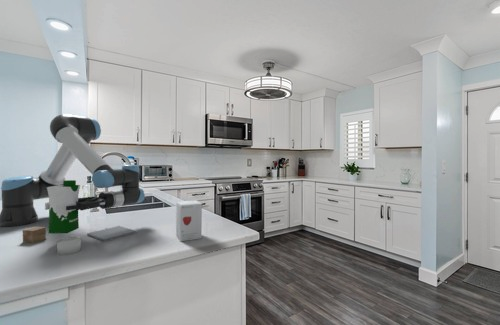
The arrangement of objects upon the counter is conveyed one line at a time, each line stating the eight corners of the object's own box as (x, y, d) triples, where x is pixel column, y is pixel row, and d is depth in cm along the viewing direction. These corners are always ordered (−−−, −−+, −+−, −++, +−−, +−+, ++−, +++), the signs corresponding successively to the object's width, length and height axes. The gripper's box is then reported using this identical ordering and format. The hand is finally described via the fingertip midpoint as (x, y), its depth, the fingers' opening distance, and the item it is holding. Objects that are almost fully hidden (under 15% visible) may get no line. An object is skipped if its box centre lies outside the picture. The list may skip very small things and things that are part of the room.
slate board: (87, 235, 107) (87, 233, 107) (119, 227, 119) (119, 225, 119) (103, 241, 99) (103, 239, 99) (136, 232, 111) (136, 230, 111)
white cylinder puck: (53, 252, 88) (53, 241, 88) (75, 246, 94) (75, 236, 94) (62, 256, 84) (61, 245, 84) (84, 250, 90) (84, 239, 90)
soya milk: (68, 234, 94) (68, 182, 94) (43, 234, 94) (43, 181, 93) (82, 227, 103) (82, 179, 102) (59, 227, 102) (59, 179, 102)
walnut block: (22, 242, 98) (22, 229, 98) (36, 238, 103) (36, 226, 103) (32, 243, 97) (32, 230, 97) (45, 239, 102) (45, 227, 101)
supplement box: (180, 242, 99) (180, 205, 99) (175, 235, 107) (175, 201, 107) (202, 238, 104) (202, 203, 103) (196, 232, 112) (196, 199, 111)
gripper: (123, 210, 107) (62, 222, 88) (98, 204, 119) (39, 213, 100) (123, 193, 107) (61, 201, 88) (98, 189, 119) (39, 195, 100)
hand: (50, 207), depth 94 cm, fingers closed on soya milk, 8 cm apart
